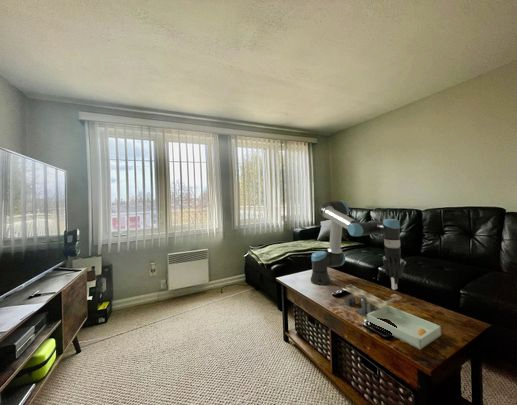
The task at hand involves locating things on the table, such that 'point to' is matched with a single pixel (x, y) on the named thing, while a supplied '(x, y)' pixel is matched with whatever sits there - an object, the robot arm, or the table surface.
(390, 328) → the tray
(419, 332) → the ball
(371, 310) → the stand
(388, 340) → the table surface
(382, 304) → the lever
